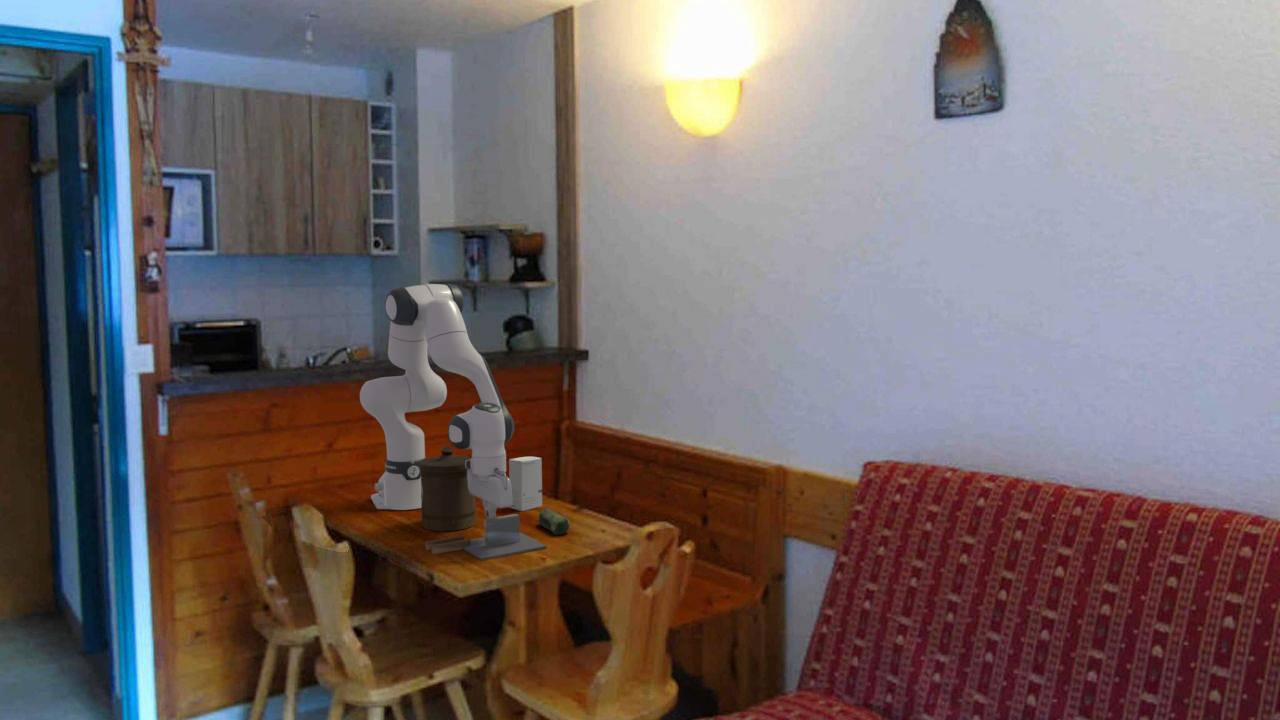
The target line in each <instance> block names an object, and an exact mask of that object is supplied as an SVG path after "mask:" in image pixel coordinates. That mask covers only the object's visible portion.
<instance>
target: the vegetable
mask: <svg viewBox="0 0 1280 720" xmlns="http://www.w3.org/2000/svg"><path fill="white" fill-rule="evenodd" d="M537 519H538V524H539V525H540V526H542V527H543V528H545V529H546V530H548V531H550V532H551V533H553V535H555V536H556V535H564V534H565V533H568V531H569V529H570V527H571V525H570V520H569V518H567V517H566V516H563V515H561V514H559V513H558V512H556V511H554V510H553V509H551V508H544V509H542V510H541V511H540V512H539V514H538V518H537Z"/></svg>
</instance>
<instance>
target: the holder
mask: <svg viewBox="0 0 1280 720" xmlns="http://www.w3.org/2000/svg"><path fill="white" fill-rule="evenodd" d="M470 540H471V539H469V538H466V539H465V536H464V535H462V534H461V535H455V536H449V537H444V538H443V537H442V538H438V539H433V540H427V541H425V547H424V548H425V550H426V551H430V552H431V554H432V555H434V554H435V555H440V554H445V552H446V553H450V552H455V551H461V550H464V549H463V547H466V546H471V541H470Z"/></svg>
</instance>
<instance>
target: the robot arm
mask: <svg viewBox="0 0 1280 720" xmlns="http://www.w3.org/2000/svg"><path fill="white" fill-rule="evenodd" d="M384 303H385V304H384V305H385V312H386V316H387V318H388V319H389V320H390V324H389V334H388V335H389V336H388V347H387V349H388V350H387V356H388V359H389V360H390V363H392V364H393V365H395V366H396V367H398V368H400V369H402V370H404V371H405V372H404V374H403V375H397V376H396V375H395V376H393V375H392V376H384V377H377V378H374V379H373V378H372V379H371V380H367V381H365V382H364V384H363V385H362V386H361V389H360V391H359V401H360V404H361V406H362V408H363V409H364V410H365V411H366V412H367V413H368V414H370V415H371V416H373V418H375V420H377V422H378V423H379V424H380V426H381V427H382V430H383V432H384V437H385V444H386V459H385V463H384V470H385V472H383V474H382V475H381V476H380V478H379V479H378V481H377V483H374V490H375V491H376V492H378V493H374V494H371V496H370V500H371V501H372V503H373V505H374V506H375V508H376V509H377V510H392V511H408V510H417V509H421V461H422V460H424V459H426V458H427V457H426V449H425V448H426V447H425V446H426V445H425V433H424V431H423V429H422V428H420V426H417V425H415V424H413V423H411V422H409V421H407V420H406V417H405V414H407V413H413V412H425V411H429V410H433V409H436V408H440V407H441V406H442V405H443V404H444V403H445V401H446V399H447V396H448V389H447V384H446V382H445V381H444V380H443V379H442V377H441V376H440V375H438V374H437V373H435V371H433V370H432V368H431V366H430V363H429V360H428V359H429V357H428V353H429V356H430V358H431V360H432V361H433V363H434V364H435V365H436V366H437V367H439V368H440V369H443V370H444V371H446V372H450V373H454V374H457V375H460V376H462V377H465V378H467V379H468V380H470V381H471V383H473V384H474V385H473V386H475V388H476V391H477V394H478V396H479V399H480V401H481V402H478V403H476V404H474V405H472V407H471V409H469V410H468V411H465V412H463V413H459V414H456V415H454V416H452V417H451V419H450V420H449V423H448V426H447V437H448V441H449V442H450V443H451V445H453V446H454V448H456V449H457V450H471V457H470V458H471V459H469V460H466V461H465V467H466V468H467V469H468V470H467V483H468V490H469V492H470V494H472V495H474V496H475V498H478V499H481V500H482V501H481V502H482V505H483V509H484V516H485V517H487V519H488V518H494V517H497V510H498V508H499V509H504V508H510V506H511V505H512V489H511V482H510V479H509V477H508V476H507V475H506V472H507V451H506V449H505V448H506V447H505V445H507V444H508V443H509V442H510V440H511V439H512V437H513V434H514V432H515V421H514V419H513V416H512V415H511V413H510V411H509V410H508V409H507V406H506V405H505V402H504V400H503V398H502V396H501V395H502V394H501V393H500V391H499V388H498V384H497V383H496V381H495V378H494V376H493V373H492V370H491V369H490V366H489V363H488V362H487V359H486V358H485V357H484V356H483V355H482V354H481V353H479V352H478V351H477V350H476V348H475V347H474V346H473V344H472V342H471V341H470V337H469V335H468V330H467V326H466V323H465V320H464V318H463V315H462V313H463V311H464V309H465V308H464V307H465V300H464V295H463V292H462V291H461V289H460V288H459V287H458V286H457V285H455V284H452V283H442V284H441V283H438V284H437V283H423V284H419V285H418V284H417V285H412V286H411V285H410V286H407V287H403V286H401V287H395V288H393V289H392V290H390V291H389V292H388V294H387V295H386V298H385V302H384Z"/></svg>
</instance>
